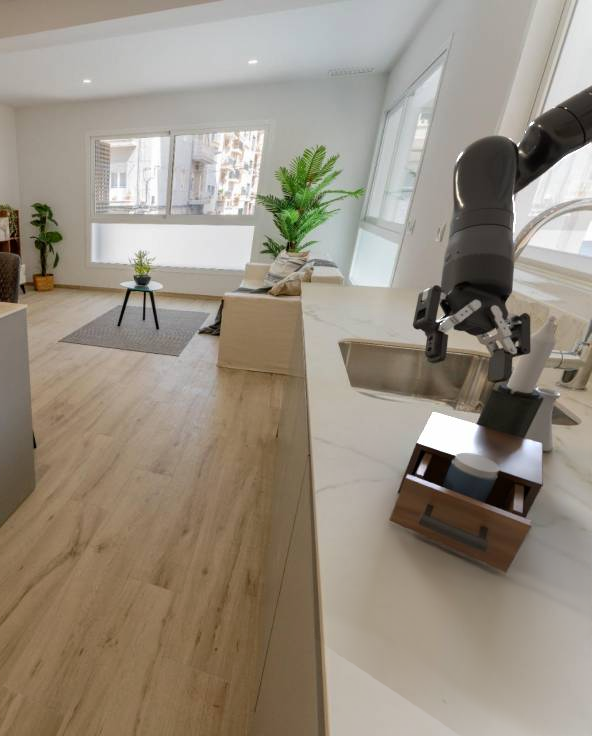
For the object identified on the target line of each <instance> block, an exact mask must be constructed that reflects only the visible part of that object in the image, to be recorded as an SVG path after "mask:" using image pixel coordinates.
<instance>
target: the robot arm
mask: <svg viewBox="0 0 592 736" xmlns="http://www.w3.org/2000/svg"><path fill="white" fill-rule="evenodd" d="M591 144H592V85H590V86H588V87H586V88H584V89H582V90H581V91H579V92H577V93H576V94H574V95H572V96H570V97H569V98H567V99H566V100H563V101H562V102H560V103H558V104H557V105H555V106H554V107H552V108H550V109H548V110H546V111H545V112H543V113H542V114H540V115H538V116H537V117H536V118H534V119H533V120H532V121H531V122H529V124H528V125H527V127H526V130H525V132H524V134H523V136H522V138H521V140H520V141H519V142H518V144H516V142H515V141H514V140H512V138H509V137H507V136H505V135H493V134H492V135H487V136H483V137H480V138H479V139H477V140H475V141H473V142H472V143H470V144H469V145H467V146H466V147H465V148H464V149H463V150H462V151H461V152H460V154H459V155H458V157H457V158H456V160H455V162H454V166H453V171H452V172H453V173H452V180H453V181H452V201H453V203H452V204H453V205H452V207H453V208H452V213H451V214H452V215H451V220H450V224H449V232H448V241H447V246H446V248H445V252H444V256H443V262H442V263H443V265H442V272H441V273H442V274H441V281H440V285H437V284H435V285H433V286H431V287H429V288H427V289H425V290H423V291H421V292H419V293H418V297H417V302H416V305H415V306H416V307H415V311H414V316H413V322H412V327H413V328H414V329H415V330H419V331H420V330H421V331H422V332H423V333H424V335H425V337H426V340H425V341H426V342H425V351H424V354H425V357H426V361H427V363H431V364H437V363H438V364H439V363H441V362H444V361H445V360H446V358H447V352H448V341H449V334H447V333H448V332H449V331H450V330H451V329H453V330H455V331H457V332H465V333H467V334H468V335H471V336H474V337H476V339H477V340H478V342H479V344H480V345H483V346H485V347H486V349H487V351H488V353H489V354H490V356H489V359H488V369H487V371H488V372H487V381H488V382H490V383H492V384H500V383H505V382H507V381H509V379H510V377H511V375H512V373H513V358H516V357H520V356H521V355H525V354H529V353H530V351H531V346H530V335H531V315H529V313H527V312H522V313H519V314H515V313H510V312H509V311H508V309H507V305H506V302H507V300H508V299H509V297H510V296H511V295H512V293H513V286H514V284H513V283H514V274H515V273H514V272H515V258H516V245H515V237H514V236H515V224H516V212H515V201H514V195H516V194H518V193H519V192H521V191H522V190H524V189H525V188H527V187H528V186H530V184H532V183H533V182H535V181H536V180H537V179H539V178H540V177H541V176H543V175H544V174H545V173H547V172H548V171H549V170H551V169H552V168H553V167H554V166H555V165H557V164H558V163H559V162H560V161H562V160H563V159H565V158H567V157H568V156H570V155H572V154H574V153H576V152H578V151H579V150H581V149H583V148H585V147H587V146H589V145H591ZM439 306H440V308H441V310H442V312H443V315H442V316H441V317H439V318H438V319H437V317H438V312H439ZM494 330H496V332H497V333H496V334H493V335H490V334H488V333H490V332H492V331H494ZM497 341H498V342H499V344H500V345H501V347H499V345H498V343H497ZM517 342H518V343H517ZM516 343H517V345H516Z"/></svg>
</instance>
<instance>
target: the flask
mask: <svg viewBox="0 0 592 736" xmlns="http://www.w3.org/2000/svg"><path fill="white" fill-rule="evenodd" d="M535 390H536V391H538V392H539V393H540V395H541V396H543V397H544V399H543V401H542V403H541V405H540V407H539V409H538V411H537V414H536V416H535V418H534V420H533V422H532V424H531V426H530V428H529V430H528V432H527V434H526V436H525V439H529V440H532V441H536V442H539V443H542V450H543V452H550V451H551V450H552V448H553V446H554V444H553V443H554V442H553V410H554V406H555V404H556V401H557V399H560V397H561V396H562V393H561V392H558V391H557V390H552V389H551V388H550V389H549V388H544V387H535Z"/></svg>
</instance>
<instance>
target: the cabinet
mask: <svg viewBox="0 0 592 736" xmlns="http://www.w3.org/2000/svg"><path fill="white" fill-rule="evenodd" d="M426 452H429V453H432V454H435V455H438V456H441V457H444V458H447V459H450V460H454V458H455V455H456V454H457V453H460V452H466V453H472V454H476V455H479V456H482V457H485V458H487V459H489V460H491V461H493V462H494V463H496V464H497V465H498V466H499V468H500V470H499V472H498V474H497V476H500V477H503V478H506V479H509V480H512V481H515V482H517V483H520V484H523V485H524V498H523V513H522V515H521V517H523V518H525V519H527V516H528V515H529V512H530V510H531V509H532V506H533V504H534V502H535V501H536V499H537V497H538V495H539V493H540V491H541V489H542V487H543V486H544V475H543V473H544V472H543V469H544V467H543V466H544V465H543V464H544V463H543V462H544V461H543V459H544V458H543V452H544V451H543V450H542V443H539V442H536V441H532V440H529V439H525V438H522V437H518V436H515V435H511V434H508V433H504V432H501V431H497V430H494V429H490V428H487V427H484V426H480V425H477V423H474V422H470V421H466V420H462V419H460V418H456V417H453V416H448V415H445V414H442V413H439V412H435V411H433V412H431V414H430V416H429V418H428V420H427V422H426V423H425V425H424V428H423V429H422V431H421V432H420V435H419V437H418V438H417V441H416V442H415V445H414V447H413V450H412V452H411V455H410V458H409V461H408V464H407V466H406V468H405V472H404V475H403V477H402V479H401V482H400V485H399V487H398V490H397V494H400V491H401V488H402V486H403V483H404V480H405V478H406V476H407V474H409V475H412V476H415V474H416V472H417V469H418V467H419V465H420V463H421V461H422V459H423V457H424V455H425V453H426Z"/></svg>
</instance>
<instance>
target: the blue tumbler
mask: <svg viewBox="0 0 592 736" xmlns="http://www.w3.org/2000/svg"><path fill="white" fill-rule="evenodd" d="M499 470H500V468H499V466H498V465H497V464H496V463H494V462H493V461H491V460H489V459H487V458H485V457H482V456H479V455H476V454H472V453H466V452H460V453H457V454H456V455H455V458H454V460H452V462H451V465H450V467H449V469H448V472H447V474H446V476H445V479H444V481H443V483H442V486H441V487H443V488H446V489H449V490H451V491H454V492H457V493H459V494H462V495H465V496H467V497H470V498H472V499H475V500H478V501H480V502H483V503H485V502H486V500H487V498H488V496H489V494H490V491H491V489H492V487H493V485H494V483H495V481H496V479H497V474H498V472H499Z"/></svg>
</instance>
